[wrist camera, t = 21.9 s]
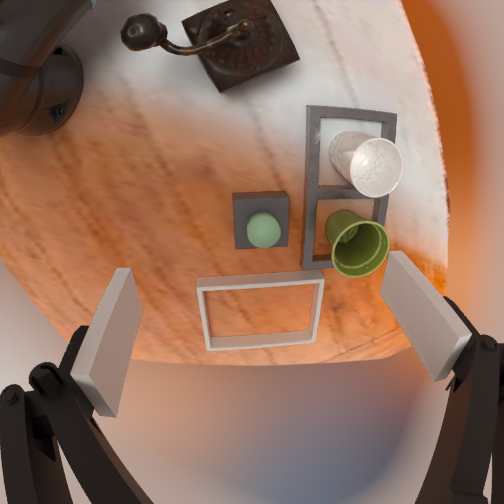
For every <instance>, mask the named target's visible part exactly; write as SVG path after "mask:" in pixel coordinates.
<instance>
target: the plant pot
mask: <svg viewBox="0 0 504 504" xmlns="http://www.w3.org/2000/svg"><path fill="white" fill-rule="evenodd" d="M354 228H355V231H354V233H353V234H352V235H350V234H351V232H352V231H353V229H354ZM326 234H327V237H328V240H329V242H330V245H331V248H332V252H331V258H332V263H333V265H334V267H335V269H336V270H337V271H338V272H339V273H340V274H342V275H344V276H346V277H351V278H358V277H363V276H366V275H368V274H370V273H372V272H373V271H375V270H376V269H377V268H378V267H379V266H380V265H381V264H382V263H383V261H384V260H385V258H386V256H387V254H388V251H389V246H390V239H389V235H388V233H387V231H386V229H385V228H384V227H383V226H382V225H380V224H379V223H377V222H374V221H368V220H365V219H363V218H362V217H360V216H358V215H357V214H355V213H354V212H352V211H350V210H341V211H338V212H335V213H334V214H332V215H331V216H330V218H329V219H328V221H327V223H326Z"/></svg>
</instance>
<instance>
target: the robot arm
mask: <svg viewBox="0 0 504 504" xmlns="http://www.w3.org/2000/svg"><path fill="white" fill-rule="evenodd" d="M97 1H98V0H0V137H2V136H5V135H7V134H10V133H13V132H15V133H19V134H23V135H27V136H38V135H43V134H46V133H49V132H51V131H54V130H55V129H57V128H59V127H60V126H61V125H62V124H64V123H65V122H66V121H67V119H68V118H69V117H70V116H71V114H72V113H73V111H74V110H75V108H76V106H77V104H78V101H79V98H80V95H81V91H82V85H83V72H82V67H81V63H80V61H79V59H78V57H77V55H76V54H75V53H74V51H73V50H71V49H70V48H69V47H67V46H65V45H62V44H60V42H61V41H62V40H63V39H64V37H65V36H66V35H67V34H68V33H69V31H70V30H71V29H72V28H73V27H74V26H75V24H76V23H77V22H78V21H79V20H80V19H81V18H82V17H83V16H84V15H85V13H86V12H87V11H88V10H92V9H93V8H94V6H95V4H96V2H97ZM380 295H381V296H382V298H383V299H384V301H385V302H386V304H387V305H388V307H389V309H390V310H391V312H392V313H393V315H394V316H395V318H396V320H397V321H398V323H399V324H400V326H401V328H402V329H403V331H404V332H405V334H406V336H407V337H408V339H409V341H410V342H411V344H412V346H413V347H414V349H415V351H416V352H417V354H418V356H419V357H420V359H421V361H422V363H423V364H424V366H425V368H426V370H427V371H428V373H429V375H430V377H431V378H432V380H433V382H436V381H439V380H442V379H445V378H447V376H448V375H449V373H450V371H451V370H453V371H454V373H455V375H454V377H453V378H452V380H451V381H450V383H449V384H448V386H447V387H446V390H448V389H449V387H450V386H451V388H450V394H449V398H448V403H447V407H446V412H445V415H444V419H443V423H442V427H441V431H440V435H439V438H438V442H437V445H436V448H435V451H434V454H433V457H432V460H431V463H430V466H429V469H428V472H427V474H426V477H425V480H424V482H423V485H422V488H421V490H420V492H419V495H418V497H417V500H416V502H415V504H488V499H487V498H486V497H484V496H483V489H484V485H485V481H486V477H487V473H488V468H489V464H490V458H491V453H492V493H491V494H492V495H491V504H504V343H503V344H502V343H497V341H496V340H495V339H494V338H492V337H490V336H488V335H484V334H483V335H480V334H479V333H478V331H477V330H476V329H475V328H474V326H473V325H472V324H471V322H470V321H469V320H468V319H467V317H466V316H464V314H463V312H462V311H461V310H459V308H458V306H457V305H456V304H455V303H454V302H453V301H452V300H450V299H449V298H447V297H446V296H444V297H442V295H441V294H440V293H439V292H438V291H437V290H436V288H435V287H434V286H433V285H432V284H431V283H430V281H429V280H428V279H427V278H426V277H425V276H424V275H423V273H422V272H421V271H420V270H419V269H418V268H417V267H416V266H415V265H414V263H413V262H412V261H411V260H410V259H409V258H408V257H407V256H406V255H405V254H404V253H403V252H402V250H401V251H390V252H389V257H388V261H387V266H386V270H385V274H384V278H383V282H382V286H381V290H380ZM142 313H143V309H142V306H141V302H140V299H139V295H138V292H137V288H136V285H135V281H134V277H133V273H132V269H131V267H129V268H117V269H116V271H115V273H114V275H113V277H112V279H111V281H110V283H109V285H108V287H107V289H106V291H105V293H104V295H103V298H102V300H101V302H100V304H99V306H98V308H97V310H96V313H95V315H94V317H93V319H92V322H91V324H90V326H80V327H79V328H78V329H77V330H76V331H75V332H74V334H73V336H72V338H71V340H70V342H69V343H70V344H69V345H68V347H67V349H66V352H65V354H64V356H63V358H62V361H61V363H60V365H59V368H57V367H56V365H55V364H53V363H51V362H44V363H41V364H39V365H37V366H36V367H35V368H34V369H33V370H32V371H31V373H30V375H29V384H30V385H31V386H32V388H33V389H34V390H33V391H27V392H25V391H24V390H23V389H22V388H21V386H19V385H17V384H12V385H9V386H7V387H6V388H5V389H4V390H3V391H2V393H1V395H0V449H1V461H2V470H3V477H4V484H5V490H6V496H7V502H8V504H73V501H72V498H71V495H70V492H69V488H68V485H67V481H66V477H65V473H64V469H63V466H62V461H61V457H60V452H59V447H58V443H59V445H60V447H61V449H62V451H63V453H64V455H65V457H66V459H67V461H68V463H69V465H70V467H71V469H72V471H73V473H74V474H75V476H76V478H77V480H78V482H79V483H80V485H81V487H82V488H83V490H84V492H85V493H86V495H87V497H88V498H89V500H90V502H91V503H92V504H154V503H153V502H152V501H151V500H150V498H149V497H148V496H147V495H146V493H145V492H144V491H143V490H142V488H141V487H140V486H139V485H138V484H137V482H136V481H135V479H134V478H133V477H132V475H131V474H130V473H129V471H128V470H127V469H126V467H125V466H124V464H123V463H122V462H121V460H120V459H119V457H118V456H117V455H116V453H115V451H114V450H113V448H112V447H111V445H110V444H109V442H108V441H107V439H106V438H105V436H104V434H103V433H102V431H101V430H100V428H99V426H98V424H97V423H96V421H95V419H94V418H93V417H92V414H93V411H94V409H95V410H96V412H97V413H98V414H99V415H100V416H107V417H117V413H118V408H119V403H120V398H121V394H122V390H123V385H124V381H125V376H126V373H127V368H128V364H129V361H130V357H131V353H132V349H133V345H134V341H135V338H136V334H137V330H138V327H139V323H140V320H141V316H142ZM57 440H58V442H57Z"/></svg>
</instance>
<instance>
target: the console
mask: <svg viewBox="0 0 504 504" xmlns="http://www.w3.org/2000/svg"><path fill="white" fill-rule="evenodd" d="M233 211H234V232H235V247H236V249H251V248H259V247H256V246H254V245H253V244H252V243H251V242H250V241H249V239H248V234H247V228H246V225H247V221H248V219H249V218H250V217H251V216H252V215H253V214H255V213H257V212H262V211H264V212H269V213H271V214H272V215H274V216H275V218H276V219H277V222H278V224H279V227H280V230H281V235H280V238H279V240H278V241H277V242H276V243H275V244H274V245H273V246H271V247H285V246H288V220H289V196H288V195H287V193H286V191H268V192H245V193H233Z"/></svg>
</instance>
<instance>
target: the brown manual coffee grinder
mask: <svg viewBox="0 0 504 504" xmlns="http://www.w3.org/2000/svg"><path fill="white" fill-rule="evenodd" d="M182 25H183V27H184V30H185V33H186V35H187V37H188V38H189V40H190V42H191V44H192V46H190V47H180V46H176V45H174V44H172V43H171V42H170V41H168V40H167V39H166V38H167V34H168V32H167V28H166V26H165V25H163V24H162V23H160V22H158V19H157V18H156V17H155V16H153V15H150V14H148V13H143V14H139V15H135V16H132V17H130V18H128V20H127V21H126V23H125V25H124V26H123V28H122V30H121V32H120V33H121V39H122V42H123V44H125V45H126V46H127V47H128V48H129V49H130V50H133V51H141V50H145V49H149V48H151V47H156V46H159V45H160V46H161V47H162V48H163V49H165V50H166V51H167V52H170V53H173V54H176V55H183V56H189V55H197V56H198V58H199V60H200V61H201V63H202V65H203V67H204V69H205V71H206V73H207V74H208V76H209V78H210V79H211V81H212V82H213V84H214V85H215V86H216V88H217V89H218V91H219V92H220V93H222V92H224V91H227V90H231V89H233V88H235V87H237V86H239V85H242V84H244V83H246V82H249V81H251V80H253V79H255V78H258V77H260V76H262V75H265V74H267V73H270V72H272V71H274V70H277V69H279V68H281V67H284V66H286V65H288V64H291V63H293V62H296V61H298V60H300V58H299V56H298V53H297V51H296V48H295V46H294V44H293V42H292V40H291V38H290V36H289V34H288V32H287V30H286V28H285V26H284V24H283V22H282V20H281V19H280V17H279V15H278V13H277V11H276V9H275V7H274V6H273V4H272V2H271V1H270V0H228V1H225V2H223V3H220V4H218V5H215V6H213V7H211V8H208V9H206V10H203V11H201V12H199V13H197V14H195V15H193V16H191V17H189V18H187V19H185V20H183V21H182Z"/></svg>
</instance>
